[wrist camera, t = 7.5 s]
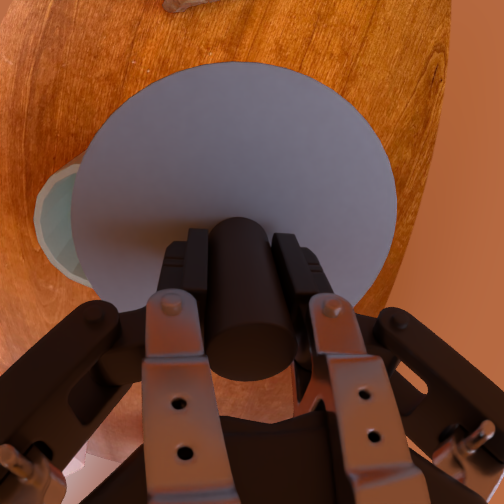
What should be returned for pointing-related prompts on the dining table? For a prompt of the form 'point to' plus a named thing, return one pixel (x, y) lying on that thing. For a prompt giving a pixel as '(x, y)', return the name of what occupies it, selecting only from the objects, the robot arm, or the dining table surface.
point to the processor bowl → (59, 221)
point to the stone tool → (182, 4)
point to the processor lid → (234, 200)
